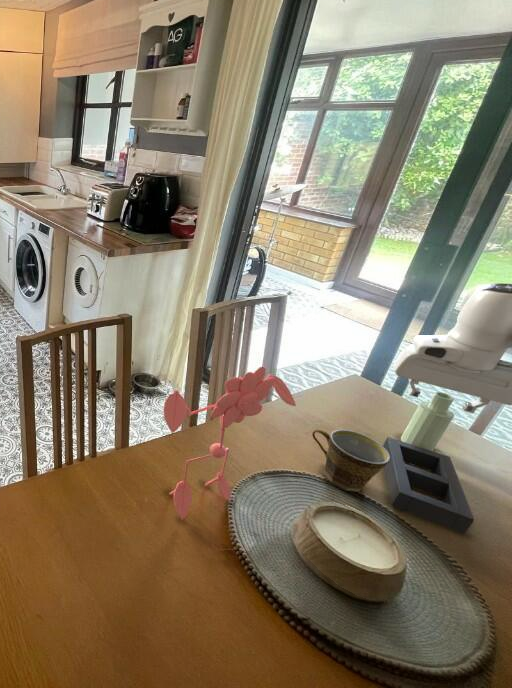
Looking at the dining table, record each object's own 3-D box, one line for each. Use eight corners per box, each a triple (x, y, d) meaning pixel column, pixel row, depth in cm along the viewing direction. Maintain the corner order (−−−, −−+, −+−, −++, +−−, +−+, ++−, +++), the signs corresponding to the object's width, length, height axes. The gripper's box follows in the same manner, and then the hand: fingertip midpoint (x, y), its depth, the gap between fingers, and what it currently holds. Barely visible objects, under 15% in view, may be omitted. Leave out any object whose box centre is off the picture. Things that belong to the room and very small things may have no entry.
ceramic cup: (376, 482, 91) (395, 448, 87) (364, 506, 85) (383, 471, 81) (309, 448, 100) (323, 416, 96) (293, 468, 94) (308, 435, 90)
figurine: (133, 499, 86) (162, 359, 71) (233, 474, 93) (279, 340, 78) (180, 570, 73) (228, 415, 58) (293, 535, 79) (363, 387, 64)
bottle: (429, 442, 102) (458, 394, 96) (434, 457, 98) (465, 407, 91) (399, 433, 105) (425, 385, 99) (402, 446, 101) (430, 397, 94)
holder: (441, 469, 94) (449, 456, 93) (464, 533, 80) (474, 519, 78) (380, 449, 100) (387, 436, 98) (391, 505, 85) (399, 492, 84)
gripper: (533, 362, 87) (498, 413, 93) (406, 333, 98) (382, 381, 104) (546, 376, 82) (508, 428, 88) (410, 344, 93) (385, 393, 99)
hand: (439, 402), depth 96 cm, fingers open, 8 cm apart
